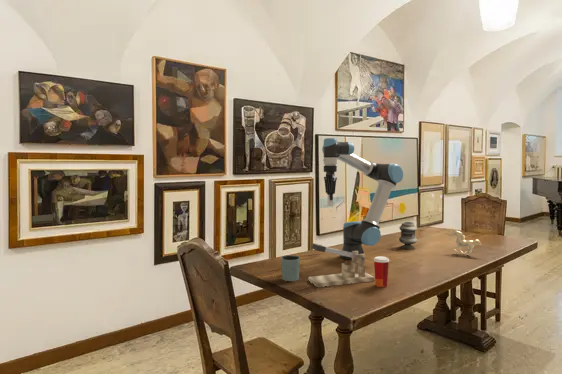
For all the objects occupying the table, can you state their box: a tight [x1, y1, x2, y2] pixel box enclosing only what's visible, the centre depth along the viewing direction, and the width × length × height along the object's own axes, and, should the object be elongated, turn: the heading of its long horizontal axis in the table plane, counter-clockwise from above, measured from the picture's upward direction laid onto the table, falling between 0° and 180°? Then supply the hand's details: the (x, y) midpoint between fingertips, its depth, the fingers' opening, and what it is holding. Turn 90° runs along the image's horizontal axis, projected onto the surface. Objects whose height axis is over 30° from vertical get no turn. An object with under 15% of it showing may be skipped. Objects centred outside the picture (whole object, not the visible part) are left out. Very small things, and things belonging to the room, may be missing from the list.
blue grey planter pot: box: [280, 254, 301, 282], centre depth 211 cm, size 10×10×12 cm
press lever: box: [311, 243, 359, 259], centre depth 207 cm, size 27×6×3 cm, turn 108°
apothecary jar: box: [398, 221, 418, 250], centre depth 284 cm, size 12×12×18 cm
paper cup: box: [373, 256, 390, 288], centre depth 199 cm, size 8×8×14 cm
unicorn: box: [450, 227, 482, 256], centre depth 260 cm, size 20×4×17 cm, turn 45°
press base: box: [307, 251, 375, 288], centre depth 208 cm, size 32×12×14 cm, turn 108°
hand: (330, 205), depth 232 cm, fingers closed
